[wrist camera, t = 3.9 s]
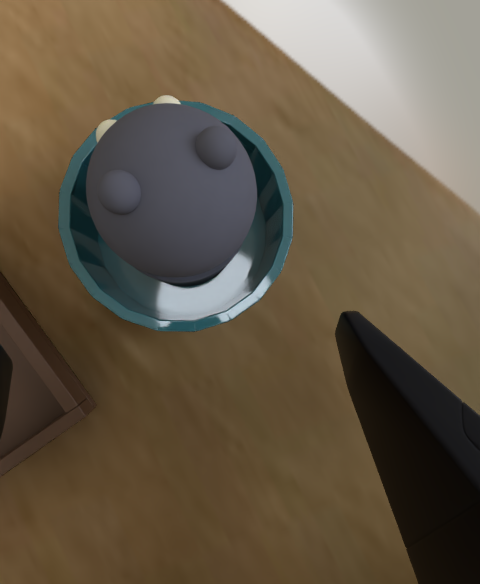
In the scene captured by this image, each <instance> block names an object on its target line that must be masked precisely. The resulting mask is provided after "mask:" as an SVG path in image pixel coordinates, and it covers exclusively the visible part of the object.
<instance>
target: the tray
mask: <svg viewBox="0 0 480 584" xmlns="http://www.w3.org/2000/svg"><path fill="white" fill-rule="evenodd" d="M0 344H1V345H2V347H3V348H4V350H5V351H6V353H7V354H8V355H9V357H10V358H11V360H12V363H13V371H12V378H11V385H10V392H9V399H8V406H7V412H6V418H5V424H4V428H3V432H2V436H1V440H0V477H1V476H2V475H4V474H5V473H7V472H8V471H9V470H11V469H12V468H14V467H15V466H16V465H18V464H19V463H21V462H22V461H24V460H25V459H26V458H28V457H29V456H31V455H32V454H34V453H35V452H36V451H38V450H39V449H41V448H42V447H44V446H45V445H46V444H48V443H49V442H51V441H52V440H54V439H55V438H56V437H58V436H59V435H61V434H62V433H64V432H65V431H66V430H68V429H69V428H71V427H72V426H73V425H75V424H76V423H78V422H79V421H81V420H82V419H83V418H85V417H86V416H87V415H88V414H89V413H90V412H91V411H92V410H93V409H94V408H95V407H96V403H95V402H94V400H93V399H92V398H91V396H90V395H89V394H88V392H87V391H86V389H85V388H84V387H83V385H82V384H81V383H80V381H79V380H78V378H77V377H76V376H75V374H74V373H73V372H72V370H71V369H70V367H69V366H68V365H67V363H66V362H65V361H64V359H63V358H62V356H61V355H60V354H59V352H58V351H57V350H56V348H55V347H54V345H53V344H52V343H51V341H50V340H49V339H48V337H47V336H46V334H45V333H44V332H43V330H42V329H41V328H40V326H39V325H38V323H37V322H36V321H35V319H34V318H33V317H32V315H31V314H30V312H29V311H28V310H27V308H26V307H25V306H24V304H23V303H22V301H21V300H20V299H19V297H18V296H17V295H16V293H15V292H14V290H13V289H12V288H11V286H10V285H9V284H8V282H7V281H6V279H5V278H4V277H3V275H2V274H1V273H0Z"/></svg>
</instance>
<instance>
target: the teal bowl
mask: <svg viewBox="0 0 480 584" xmlns="http://www.w3.org/2000/svg"><path fill="white" fill-rule="evenodd" d="M179 102H180V103H181V104H182V105H187V106H191V107H194V108H197V109H200V110H202V111H204V112H206V113H209V114H210V115H212V116H214V117H215V118H217V119H218V120H220V121H221V122H222V123H223V124H225V125H226V126H227V127H228V128H229V129H230V130H231V131H232V132H233V133H234V134H235V136H236V137H237V138H238V140H239V141H240V142H241V144H242V145H243V147H244V149H245V150H246V152H247V154H248V156H249V158H250V161H251V163H252V166H253V170H254V173H255V178H256V186H257V204H256V211H255V215H254V219H253V222H252V225H251V227H250V230H249V232H248V234H247V236H246V237H245V239H244V241H243V244H242V246H241V247H240V249H239V251H238V253H237V254H236V255H235V256H234V258H233V259H232V260H231V261H230V263H229V264H228V265H227V266H226V267H225V268H224V269H223V270H222V271H221V272H220V273H219V274H218V275H217V276H215V277H214V278H212V279H210V280H209V281H207V282H204V283H202V284H198V285H194V286H174V285H170V284H166V283H164V282H161V281H159V280H156V279H154V278H152V277H149V276H147V275H145V274H143V273H141V272H140V271H138V270H137V269H136V268H134V267H133V266H132V265H130V264H128V263H127V262H126V261H124V260H123V259H122V258H120V257H119V256H118V255H117V254H116V253H115V252H114V251H113V250H112V249H111V248H110V247H109V246H108V245H107V244H106V242H105V241H104V240H103V239H102V237H101V235H100V234H99V232H98V230H97V229H96V227H95V224H94V222H93V220H92V217H91V214H90V211H89V207H88V203H87V196H86V178H87V171H88V166H89V162H90V158H91V156H92V153H93V151H94V149H95V146H96V145H97V140H96V131H97V128H98V127H97V128H95V130H94V131H93V132H92V133H91V135H90V136H89V137H88V138H87V139H86V141H85V142H84V143H83V144H82V145H81V147H80V148H79V149H78V150H77V151H76V153H75V154H74V155H73V157H72V159H71V162H70V164H69V167H68V170H67V172H66V175H65V178H64V180H63V183H62V185H61V188H60V192H59V221H58V228H59V233H60V236H61V240H62V243H63V246H64V249H65V253H66V256H67V259H68V262H69V265H70V267H71V268H72V270H73V271H74V273H75V274H76V275H77V277H78V278H79V280H80V281H81V282H82V284H83V285H84V287H85V288H86V289H87V291H88V292H89V294H90V295H91V296H92V297H93V298H94V299H96V300H97V301H98V302H100V303H101V304H102V305H104V306H105V307H106V308H108V309H109V310H111V311H112V312H113V313H115V314H116V315H117V316H119V317H120V318H122V319H124V320H126V321H129V322H132V323H135V324H138V325H141V326H144V327H147V328H150V329H153V330H156V331H158V330H159V331H181V332H195V331H199V330H203V329H206V328H209V327H212V326H216V325H219V324H222V323H225V322H228V321H230V320H233V319H234V318H235V317H237V316H238V315H240V314H241V313H242V312H244V311H245V310H247V309H248V308H250V307H251V306H252V305H254V304H255V303H257V302H258V301H259V300H260V299H261V298H262V297H263V296H264V294H265V293H266V292H267V290H268V289H269V288H270V286H271V285H272V284H273V282H274V281H275V280H276V278H277V277H278V276H279V274H280V273H281V271H282V268H283V265H284V262H285V259H286V256H287V254H288V251H289V248H290V245H291V242H292V238H293V200H292V197H291V193H290V190H289V187H288V183H287V180H286V177H285V173H284V170H283V168H282V166H281V165H280V163H279V162H278V160H277V159H276V157H275V156H274V154H273V153H272V151H271V150H270V148H269V147H268V145H267V144H266V142H265V141H264V140H263V139H262V138H261V137H260V136H259V135H258V134H256V133H255V132H254V131H253V130H252V129H250V128H249V127H248V126H247V125H245V124H244V123H243V122H242V121H240V120H239V119H238V118H237V117H235V116H234V115H231V114H229V113H226V112H224V111H221V110H219V109H216V108H214V107H211V106H209V105H206V104H204V103H200V102H190V101H179ZM153 103H154V102H151V103H147V104H143V105H139V106H134V107H130V108H129V109H126V110H124V111H122V112H121V113H119V114H117V115H116V116H114V117H113V118H111V119H109V120H119V119H120V118H122V117H123V116H124V115H126V114H128V113H130V112H132V111H134V110H136V109H138V108H141V107H144V106H148V105H153Z"/></svg>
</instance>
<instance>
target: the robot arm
mask: <svg viewBox="0 0 480 584" xmlns="http://www.w3.org/2000/svg"><path fill="white" fill-rule="evenodd" d="M335 337H336V342H337V346H338V350H339V354H340V358H341V363H342V367H343V371H344V375H345V379H346V383H347V387H348V390H349V393H350V396H351V399H352V401H353V404H354V407H355V410H356V412H357V415H358V418H359V421H360V423H361V426H362V429H363V432H364V434H365V437H366V440H367V442H368V445H369V448H370V451H371V453H372V456H373V459H374V462H375V464H376V467H377V470H378V473H379V475H380V478H381V481H382V484H383V486H384V489H385V492H386V495H387V497H388V500H389V503H390V506H391V508H392V511H393V514H394V517H395V519H396V522H397V525H398V528H399V530H400V533H401V536H402V539H403V541H404V544H405V547H406V548H407V549H406V550H407V553H408V556H409V558H410V561H411V564H412V567H413V569H414V572H415V575H416V578H417V580H418V583H419V584H480V415H478V414H477V413H476V412H475V411H474V410H472V409H471V408H470V407H469V406H468V405H467V404H465V403H462V401H461V399H459V398H458V397H457V396H456V395H455V394H454V393H452V392H451V391H450V390H449V389H448V388H447V387H445V386H444V385H443V384H442V383H441V382H440V381H438V380H437V379H436V378H435V377H434V376H433V375H431V374H430V373H429V372H428V371H427V370H426V369H424V368H423V367H422V366H421V365H420V364H419V363H417V362H416V361H415V360H414V359H413V358H412V357H410V356H409V355H408V354H407V353H406V352H404V351H403V350H402V349H401V348H400V347H399V346H397V345H396V344H395V343H394V342H393V341H392V340H390V339H389V338H388V337H387V336H386V335H385V334H383V333H382V332H381V331H380V330H379V329H378V328H376V327H375V326H374V325H373V324H372V323H371V322H369V321H368V320H367V319H366V318H365V317H364V316H362V315H361V314H360V313H359V312H357V311H346V312H343V313H341V315H340V318H339V321H338V324H337V327H336V331H335ZM12 371H13V363H12V360H11V358H10V357H9V355H8V354H7V353H6V351H5V350H4V348H3V347H2V345H1V344H0V440H1V436H2V432H3V428H4V424H5V418H6V412H7V406H8V399H9V392H10V385H11V378H12Z"/></svg>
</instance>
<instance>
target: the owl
mask: <svg viewBox="0 0 480 584" xmlns="http://www.w3.org/2000/svg"><path fill="white" fill-rule="evenodd" d="M96 140H97V145H96V146H95V149H94V151H93V153H92V156H91V158H90V162H89V166H88V171H87V178H86V196H87V203H88V207H89V211H90V214H91V217H92V220H93V222H94V224H95V227H96V229H97V230H98V232H99V234H100V235H101V237H102V239H103V240H104V241H105V242H106V244H107V245H108V246H109V247H110V248H111V249H112V250H113V251H114V252H115V253H116V254H117V255H118V256H119V257H120V258H122V259H123V260H124V261H126V262H127V263H128V264H130V265H132V266H133V267H134V268H136V269H137V270H138V271H140V272H141V273H143V274H145V275H147V276H149V277H152V278H154V279H156V280H159V281H161V282H164V283H166V284H170V285H174V286H194V285H198V284H202V283H204V282H207V281H209V280H210V279H212V278H214V277H215V276H217V275H218V274H219V273H220V272H221V271H222V270H223V269H224V268H225V267H226V266H227V265H228V264H229V263H230V261H231V260H232V259H233V258H234V256H235V255H236V254H237V253H238V251H239V249H240V247H241V246H242V244H243V241H244V239H245V237H246V236H247V234H248V232H249V230H250V227H251V225H252V222H253V219H254V215H255V211H256V204H257V186H256V178H255V173H254V170H253V166H252V163H251V161H250V158H249V156H248V154H247V152H246V150H245V149H244V147H243V145H242V144H241V142H240V141H239V140H238V138H237V137H236V136H235V134H234V133H233V132H232V131H231V130H230V129H229V128H228V127H227V126H226V125H225V124H223V123H222V122H221V121H220V120H218V119H217V118H215V117H214V116H212V115H210V114H209V113H206V112H204V111H202V110H200V109H197V108H194V107H191V106H187V105H182V104H181V103H180V102H179V101H178V100H177V99H176V98H174V97H172V96H168V95H165V96H161V97H159V98H157V99H156V100H155V101H154V103H153V105H148V106H144V107H141V108H138V109H136V110H134V111H132V112H130V113H128V114H126V115H124V116H123V117H122V118H120V119H119V120H106V121H103V122H102V123H101V124H100V125H99V126H98V128H97V131H96Z"/></svg>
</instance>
